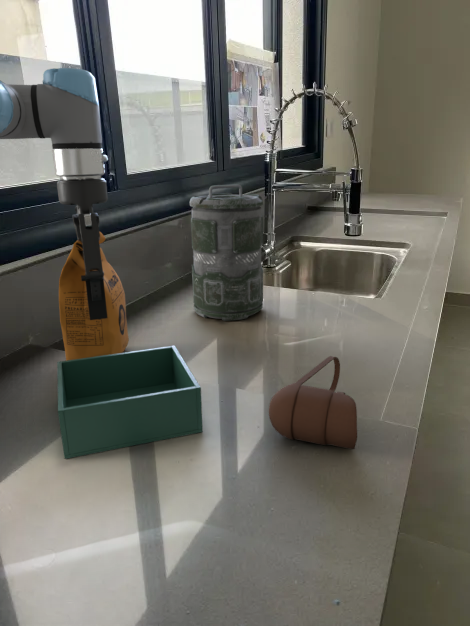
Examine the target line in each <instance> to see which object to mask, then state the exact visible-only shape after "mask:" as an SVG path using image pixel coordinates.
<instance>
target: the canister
mask: <svg viewBox="0 0 470 626" xmlns="http://www.w3.org/2000/svg"><path fill="white" fill-rule="evenodd" d="M215 189H238V194H233V193H232V192H226V193H225V192H224V193H221V192H220V193H213V190H215ZM263 205H264V199H263V198H262V196H260V195H259V194H256V193H255V194H254V193H247V194H243V186H242V185H240V184H217V185H211V186H210V187H209V189H208V195H200V196H196V197H195V196H192V197H191V198H190V200H189V206H190V208H191V218H190V233H191V234H190V235H191V248H192V254H193V255H192V257H193V264H191V277H192V299H193V301H192V302H193V310H194V312H195V313H196V314H197V315H198V316H200V317H202V318H205V319H207V318H211V319H217V320H222V321H223V322H230V321H231V322H232V321H233V322H234V321H241V320H247V319H248V318H249V317H251V316H253V315H255V314H256V313H259V312H260V311H261V310H262V309H263V306H264V304H263V302H264V269H263V265H262V246H263V244H264V240H263V239H264V216H263V214H262V206H263Z"/></svg>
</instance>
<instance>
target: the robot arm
mask: <svg viewBox="0 0 470 626" xmlns="http://www.w3.org/2000/svg"><path fill="white" fill-rule="evenodd" d="M42 76H43V77H42V83H37V84H12V83H11V84H10V83H9V84H8V83H5V82H3V81H2V80H0V140H21V139H23V140H24V139H25V140H27V139H50V141H51V148H52V149H51V152H52V161H53V169H54V175H55V176H56V177H59V179H58V180H57V182H56V188H57V195H58V202H59V203H60V204H61V205H64V206H74V205H75V206H74V212H76V213H75V214H72V223H73V226H74V229H75V234H76V237H77V240H78V241H81V242H82V245H83V246H82V247H83V258H84V265H85V273H86V274H85V275H82V276H81V281H85V282H86V290H87V299H88V308H89V316H90V320H97V319H105V318H108V317H107V308H106V298H105V289H104V279H103V278H104V272H103V268H102V260H101V253H100V248H101V246H100V245H101V244H99V240H100V232H101V231H100V216H99V215H98V213H96V212H94V208H93V205H98V204H99V205H100V204H104V203H106V202H107V201H108V199H109V196H108V186H107V180H105V178H102V176H104V175H105V173H106V170H105V164H104V162H108V160H109V158H108V155H106V154H103V152H104V151H103V137H102V125H101V114H100V103H99V97H98V90H97V84H96V78H95V75H93V74H92V73H91V72H90V71H88V70H85V69H82V68H74V67H58V68H48V69H45V70H44V72H43V74H42ZM99 231H100V232H99ZM90 270H94V271H90Z"/></svg>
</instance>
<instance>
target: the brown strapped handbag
mask: <svg viewBox="0 0 470 626" xmlns="http://www.w3.org/2000/svg"><path fill="white" fill-rule="evenodd" d="M332 361H333V363H334V369H333V378H332V381H331V385H330V387H329V389H328V388H322V387H316V386H311V385H310V386H309V385H304V384H305V383H306V382H307V381H309V380H310V379H311V378H312V377H313V376H315V375H316V374H317V373H318V372H320V371H321V370H322V369H323V368H325V367H326V366H327V365H328V364H330V363H331V362H332ZM340 373H341V363H340V359H339V357H337V356H333V355H330V356H328V357H326V358H325V359H324V360H322V361H321V362H320V363H318V364H317V365H316V366H315V367H313V368H312V369H311V370H310V371H309V372H307V373H305V374H304V375H303V376H302V377H300V378H299V379H298V380H297V381H296V382H292V383H290V384H287V385H284V386H283V387H282V388H280V389H278V390H277V391H276V392H275V394H274V395H273V396H272V397H271V399H270V402H269V405H268V417H269V421H270V423H271V425H272V427H273V429H274V430H275V431H276V432H277V433H278V434H280V436H282V437H285V438H287V439H289V440H293V441H294V440H298V441H303V442H307V443H312V444H316V445H322V446H327V445H330V446H334V447H339V448H343V449H344V448H345V449H349V450H355V448H356V446H357V445H356V444H357V441H358V411H357V404H356V401H355V399H354V398H352V397H351V396H350V395H348V394H346V392H342V391H336V389H337V386H338V383H339V379H340Z"/></svg>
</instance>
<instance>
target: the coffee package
mask: <svg viewBox="0 0 470 626" xmlns="http://www.w3.org/2000/svg"><path fill="white" fill-rule="evenodd" d="M99 232H100V240H99V245H101V244H102V243H104V242H105V240H106V236H105V235H104V234H103V233H102V232H101V231H100V230H99ZM82 246H83V245H82V242H81V241H78V239H77V240H76V241H75V242H73V245H72V248H71V250H70V253H69V254H68V256H67V258H66V261H65V263H64V264H63V267H62V270H61V272H60V276H59V279H58V307H59V309H58V310H59V322H60V328H61V334H62V340H63V346H64V353H65V361H67V360H74V359H81V358H88V357H96V356H103V355H110V354H118V353H125V350H126V348H127V347H128V344H129V341H130V339H129V332H128V330H129V329H128V322H127V306H126V305H127V304H126V294H125V293H126V292H125V289H124V287H123V284H122V281H121V279H120V277H119V275H118V274H117V272H116V271H115V269H114V267H113V266H112V265H111V264H110V262H108V260H107V258H106V255H105V253H104V251H103V248H102V247H100V253H101V260H102V268H103V272H104V278H103V279H104V289H105V298H106V308H107V317H108V318H105V319H97V320H90V316H89V308H88V299H87V290H86V282H85V281H81V276H82V275H85V274H86V273H85V265H84V258H83V247H82ZM90 271H94V270H90Z"/></svg>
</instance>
